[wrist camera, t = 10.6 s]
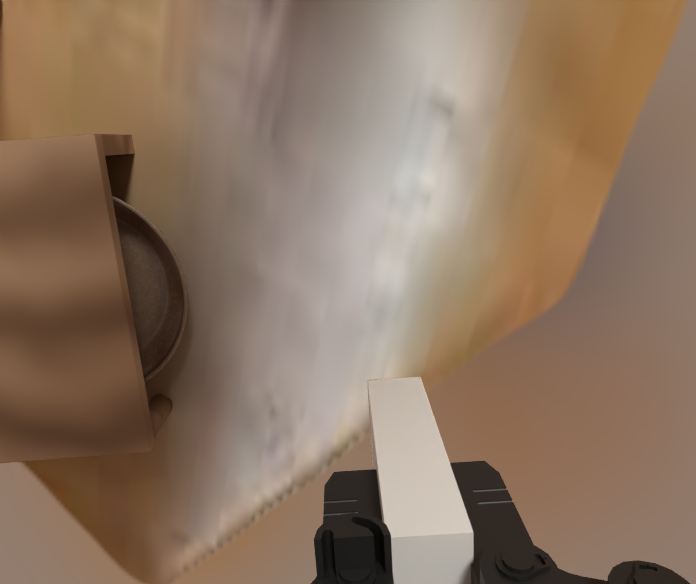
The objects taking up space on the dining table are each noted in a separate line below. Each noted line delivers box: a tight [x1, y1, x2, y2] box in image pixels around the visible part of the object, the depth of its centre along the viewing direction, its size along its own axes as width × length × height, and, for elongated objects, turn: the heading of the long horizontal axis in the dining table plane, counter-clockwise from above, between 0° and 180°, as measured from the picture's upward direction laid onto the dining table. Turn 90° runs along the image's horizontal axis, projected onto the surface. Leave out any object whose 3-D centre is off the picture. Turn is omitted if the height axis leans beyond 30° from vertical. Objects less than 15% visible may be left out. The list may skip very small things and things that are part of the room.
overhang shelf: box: [0, 134, 172, 463], centre depth 38 cm, size 20×14×6 cm
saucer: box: [112, 196, 188, 382], centre depth 40 cm, size 15×15×3 cm
